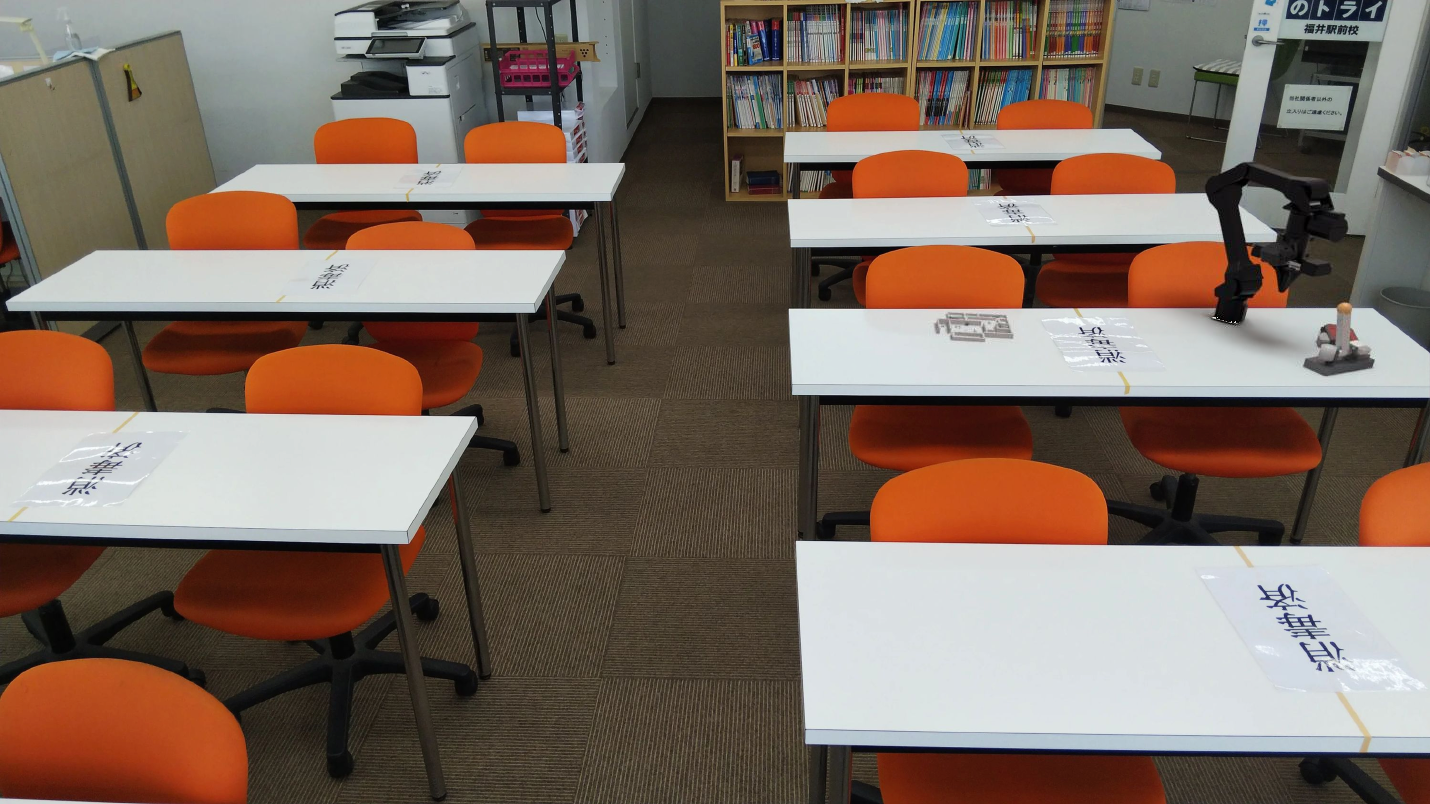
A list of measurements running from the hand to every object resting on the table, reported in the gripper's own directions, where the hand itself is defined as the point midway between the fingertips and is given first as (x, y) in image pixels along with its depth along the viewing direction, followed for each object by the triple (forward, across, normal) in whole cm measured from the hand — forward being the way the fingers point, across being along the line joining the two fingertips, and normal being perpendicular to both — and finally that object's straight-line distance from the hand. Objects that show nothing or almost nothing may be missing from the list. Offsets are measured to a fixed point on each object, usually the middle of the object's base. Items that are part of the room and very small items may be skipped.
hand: (1281, 292), depth 237 cm
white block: (+8, +20, +5) cm, 22 cm away
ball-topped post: (+8, +20, 0) cm, 22 cm away
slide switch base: (+12, +20, 0) cm, 23 cm away
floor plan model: (+13, -27, -69) cm, 76 cm away
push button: (+10, +20, -5) cm, 23 cm away
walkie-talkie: (+13, +10, +11) cm, 20 cm away
